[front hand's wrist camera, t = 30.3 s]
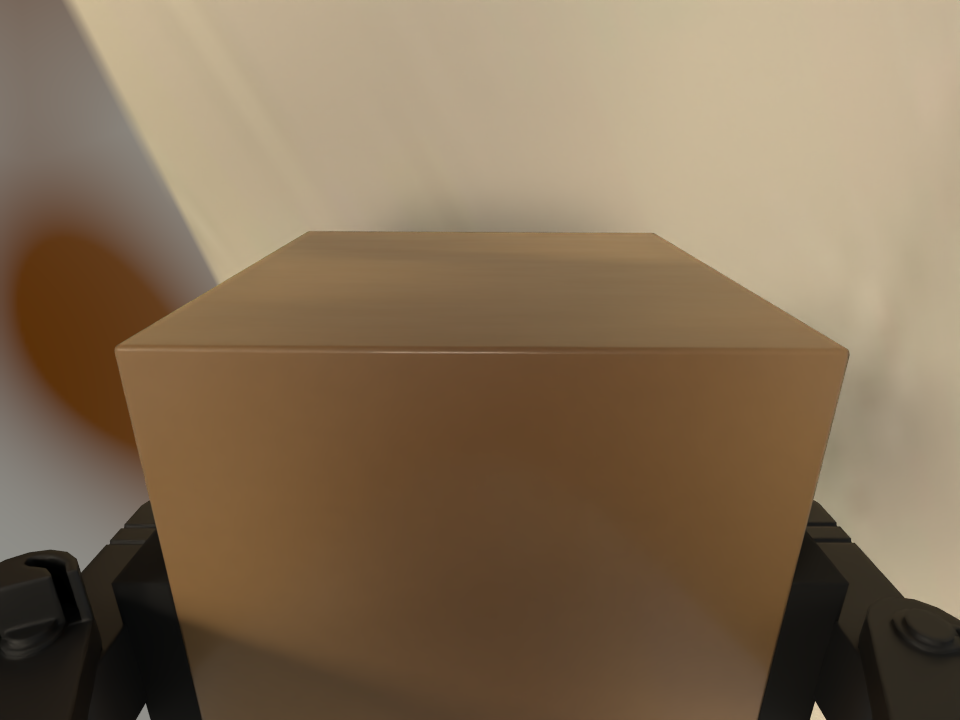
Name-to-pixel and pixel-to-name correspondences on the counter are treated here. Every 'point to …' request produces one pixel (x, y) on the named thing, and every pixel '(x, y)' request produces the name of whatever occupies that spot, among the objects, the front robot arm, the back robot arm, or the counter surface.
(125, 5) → the counter surface
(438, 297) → the block
